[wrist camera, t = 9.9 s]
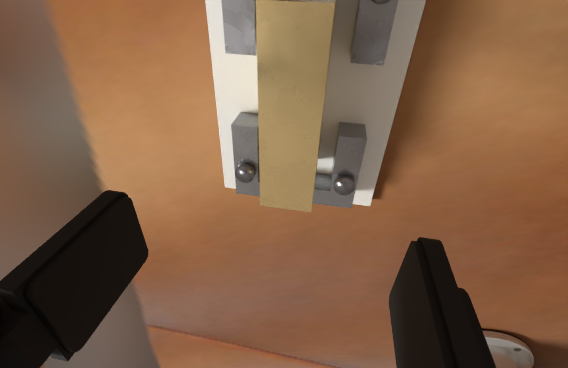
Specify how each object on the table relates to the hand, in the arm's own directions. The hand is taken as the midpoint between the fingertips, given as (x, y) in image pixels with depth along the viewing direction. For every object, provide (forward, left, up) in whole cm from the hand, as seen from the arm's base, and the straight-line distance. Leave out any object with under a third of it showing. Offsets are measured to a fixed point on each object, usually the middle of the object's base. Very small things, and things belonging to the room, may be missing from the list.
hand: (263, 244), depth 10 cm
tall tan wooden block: (0, 0, -15) cm, 15 cm away
